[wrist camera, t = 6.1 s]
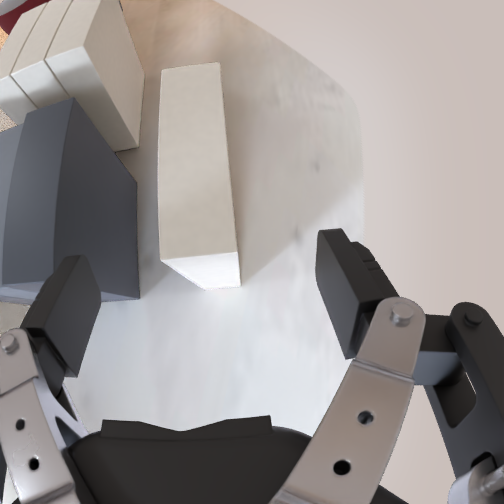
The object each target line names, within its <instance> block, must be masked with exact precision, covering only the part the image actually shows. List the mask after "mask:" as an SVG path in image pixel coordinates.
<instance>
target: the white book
mask: <svg viewBox="0 0 504 504" xmlns="http://www.w3.org/2000/svg"><path fill="white" fill-rule="evenodd" d="M158 227H159V251H160V261H162V262H163V263H165V264H166V265H168V266H169V267H171V268H172V269H174V270H175V271H176V272H178V273H179V274H181V275H182V276H184V277H185V278H187V279H188V280H190V281H191V282H193V283H194V284H196V285H197V286H199V287H200V288H202V289H203V290H211V289H221V288H231V287H240V286H241V281H240V268H239V256H238V245H237V236H236V226H235V216H234V206H233V195H232V185H231V175H230V164H229V154H228V143H227V132H226V121H225V110H224V96H223V87H222V75H221V63H220V62H213V63H203V64H195V65H188V66H181V67H174V68H168V69H163V70H162V74H161V89H160V106H159V129H158Z"/></svg>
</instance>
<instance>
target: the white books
mask: <svg viewBox="0 0 504 504" xmlns="http://www.w3.org/2000/svg"><path fill="white" fill-rule="evenodd" d="M144 80H145V74H144V71H143V68H142V66H141V63H140V60H139V57H138V55H137V52H136V49H135V46H134V44H133V41H132V38H131V35H130V32H129V29H128V27H127V24H126V21H125V18H124V15H123V9H122V6H121V3H120V0H51V1H49V2H48V3H44V4H42V5H40V6H38V7H36V8H33V9H31V10H29V11H27V12H25V13H23V14H22V15H21V16H20V18H19V20H18V21H17V23H16V24H15V26H14V28H13V29H12V31H11V33H10V35H9V36H8V38H7V40H6V42H5V43H4V45H3V47H2V49H1V51H0V108H1V109H2V110H3V111H4V112H5V113H6V114H7V115H8V116H9V117H10V118H11V119H12V120H13V121H14V122H15V123H16V124H17V125H20V124H23V123H24V120H25V117H26V114H27V113H29V112H31V111H34V110H37V109H39V108H42V107H45V106H48V105H51V104H54V103H57V102H60V101H63V100H66V99H69V98H72V97H75V98H76V100H77V101H78V103H79V104H80V106H81V107H82V108H83V110H84V111H85V113H86V114H87V116H88V117H89V118H90V120H91V121H92V123H93V124H94V125H95V127H96V128H97V130H98V131H99V132H100V134H101V135H102V137H103V138H104V139H105V141H106V142H107V143H108V145H109V146H110V148H111V149H112V150H113V152H116V151H121V150H126V149H132V148H137V147H139V138H140V123H141V110H142V99H143V89H144Z"/></svg>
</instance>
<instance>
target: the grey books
mask: <svg viewBox="0 0 504 504" xmlns="http://www.w3.org/2000/svg"><path fill="white" fill-rule="evenodd" d="M82 254H84V255H85V256H86V257H87V258H88V260H89V263H90V266H91V268H92V271H93V273H94V276H95V278H96V281H97V283H98V285H99V288H100V291H101V302H107V301H122V300H136V299H140V294H139V278H138V257H137V183H136V181H135V180H134V179H133V177H132V176H131V175H130V173H129V172H128V171H127V169H126V168H125V167H124V165H123V164H122V163H121V161H120V160H119V158H118V157H117V156H116V154H115V153H114V152H113V150H112V149H111V148H110V146H109V145H108V143H107V142H106V141H105V139H104V138H103V137H102V135H101V134H100V132H99V131H98V130H97V128H96V127H95V125H94V124H93V123H92V121H91V120H90V118H89V117H88V116H87V114H86V113H85V111H84V110H83V108H82V107H81V106H80V104H79V103H78V101H77V100H76V98H75V97H72V98H69V99H66V100H63V101H60V102H57V103H54V104H51V105H48V106H45V107H42V108H39V109H37V110H34V111H31V112H29V113H27V114H26V117H25V120H24V123H23V124H20V125H17V126H15V127H12V128H10V129H7V130H5V131H3V132H0V301H1V302H9V303H18V304H27V305H32V303H33V301H35V298H36V296H37V294H38V293H40V289H41V287H42V285H43V284H44V282H45V280H46V279H47V278H49V277H50V276H51V275H52V274H53V273H54V272H55V271H56V270H57V268H58V266H59V265H60V263H61V261H62V260H63V258H64V257H66V256H73V255H82Z"/></svg>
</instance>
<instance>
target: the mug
mask: <svg viewBox="0 0 504 504" xmlns="http://www.w3.org/2000/svg"><path fill="white" fill-rule="evenodd" d="M49 1H51V0H4V1H2V3H1V4H0V26H1V28H2V29H3V30H4V31H5V32H6V33H7V34H8V35H10V33H11V31H12V29H13V28H14V26H15V24H16V23H17V21H18V20H19V18H20V16H21V15H22V14H23V13H25V12H27V11H29V10H31V9H33V8H36V7H38V6H40V5H42V4H44V3H48V2H49Z"/></svg>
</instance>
